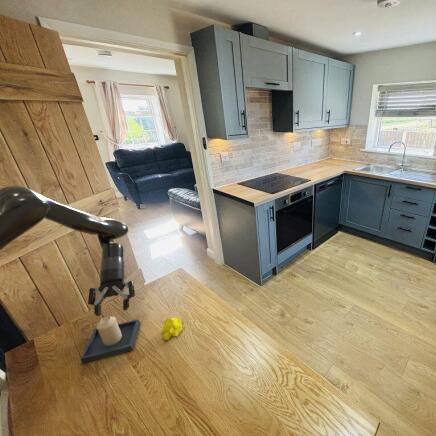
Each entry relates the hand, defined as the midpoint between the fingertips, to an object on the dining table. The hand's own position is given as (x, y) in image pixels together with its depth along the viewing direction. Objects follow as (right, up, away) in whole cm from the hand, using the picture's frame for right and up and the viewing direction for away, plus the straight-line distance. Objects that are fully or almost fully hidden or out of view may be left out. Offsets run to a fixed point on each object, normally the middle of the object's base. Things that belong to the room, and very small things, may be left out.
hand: (112, 312), depth 88 cm
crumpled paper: (+21, -9, +3) cm, 23 cm away
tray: (+2, -10, -1) cm, 10 cm away
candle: (+2, -9, -1) cm, 10 cm away
